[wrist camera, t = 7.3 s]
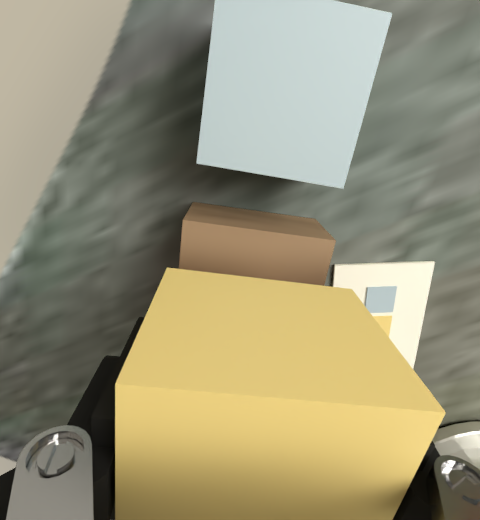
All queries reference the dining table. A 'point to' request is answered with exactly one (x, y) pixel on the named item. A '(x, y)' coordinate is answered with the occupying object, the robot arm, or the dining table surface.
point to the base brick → (255, 244)
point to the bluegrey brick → (289, 86)
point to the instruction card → (391, 297)
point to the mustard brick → (265, 406)
